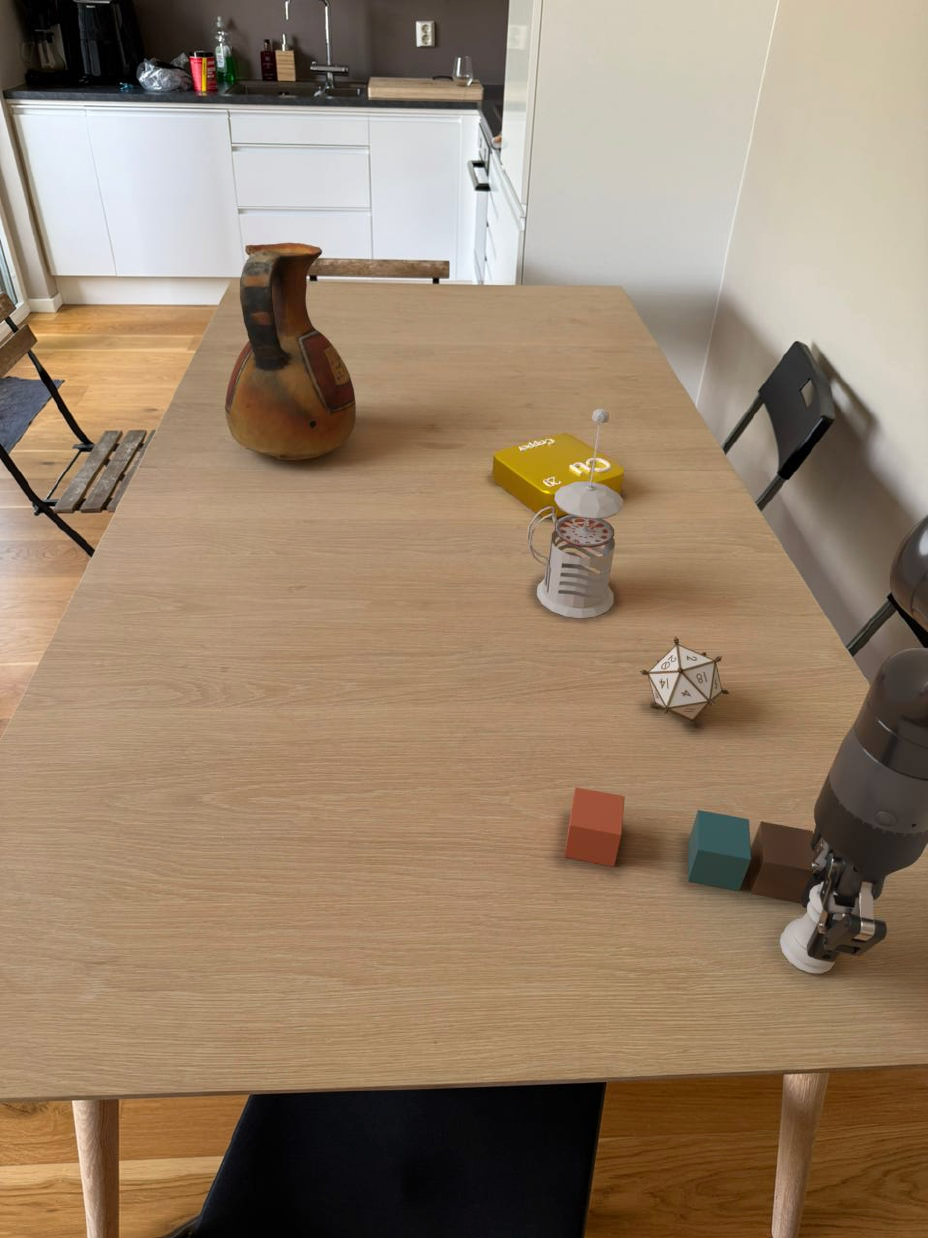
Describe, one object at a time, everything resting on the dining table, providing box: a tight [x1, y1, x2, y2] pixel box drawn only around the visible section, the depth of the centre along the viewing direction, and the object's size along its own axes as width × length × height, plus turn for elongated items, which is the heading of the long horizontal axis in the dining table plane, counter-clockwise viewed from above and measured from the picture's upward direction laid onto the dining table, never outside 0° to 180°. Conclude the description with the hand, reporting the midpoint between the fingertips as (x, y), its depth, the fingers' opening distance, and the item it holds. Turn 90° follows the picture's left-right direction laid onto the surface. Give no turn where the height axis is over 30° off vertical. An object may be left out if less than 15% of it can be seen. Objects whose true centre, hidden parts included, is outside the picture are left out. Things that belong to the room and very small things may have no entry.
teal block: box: [687, 809, 752, 892], centre depth 79 cm, size 4×4×4 cm
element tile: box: [491, 432, 625, 519], centre depth 132 cm, size 15×15×5 cm
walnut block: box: [749, 821, 815, 904], centre depth 78 cm, size 4×4×4 cm
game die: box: [639, 636, 731, 729], centre depth 94 cm, size 9×8×10 cm
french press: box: [526, 408, 624, 619], centre depth 104 cm, size 10×12×25 cm
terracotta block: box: [564, 787, 626, 868], centre depth 80 cm, size 4×4×4 cm
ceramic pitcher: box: [224, 242, 357, 461], centre depth 132 cm, size 20×20×30 cm
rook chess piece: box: [779, 882, 842, 974], centre depth 71 cm, size 4×4×8 cm
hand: (817, 929), depth 72 cm, fingers open, 4 cm apart
